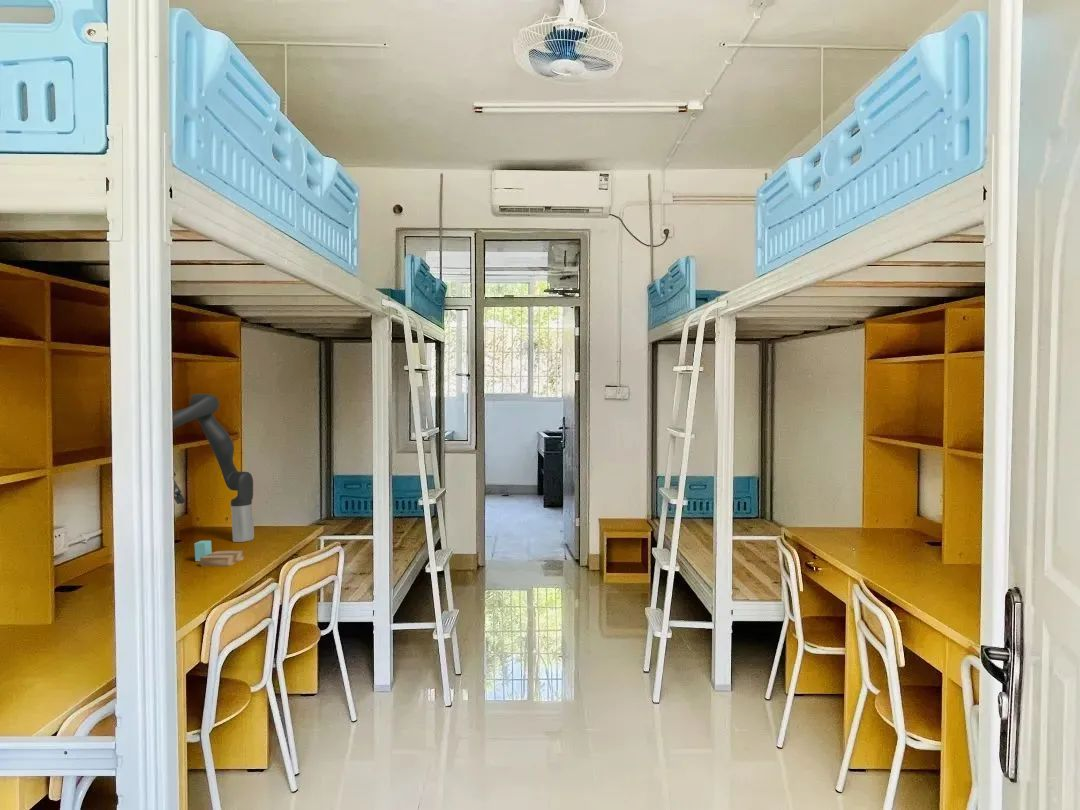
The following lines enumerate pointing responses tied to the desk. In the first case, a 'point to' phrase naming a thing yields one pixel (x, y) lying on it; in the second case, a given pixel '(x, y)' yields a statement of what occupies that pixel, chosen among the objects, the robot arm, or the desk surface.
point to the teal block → (202, 549)
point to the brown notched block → (222, 558)
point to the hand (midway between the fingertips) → (181, 503)
